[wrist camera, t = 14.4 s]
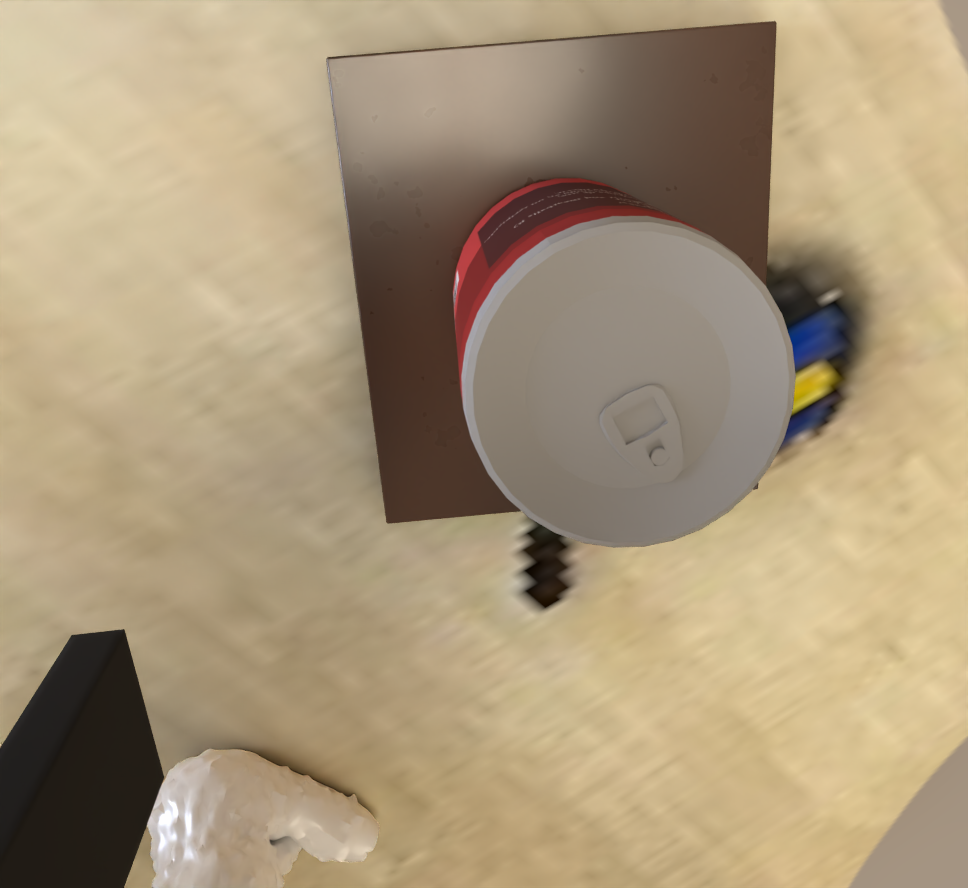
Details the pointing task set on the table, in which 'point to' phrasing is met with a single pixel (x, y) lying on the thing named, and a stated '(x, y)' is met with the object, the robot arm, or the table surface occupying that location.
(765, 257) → the brown metal board
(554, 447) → the canned food
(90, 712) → the robot arm
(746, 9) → the table surface
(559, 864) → the table surface
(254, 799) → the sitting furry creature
